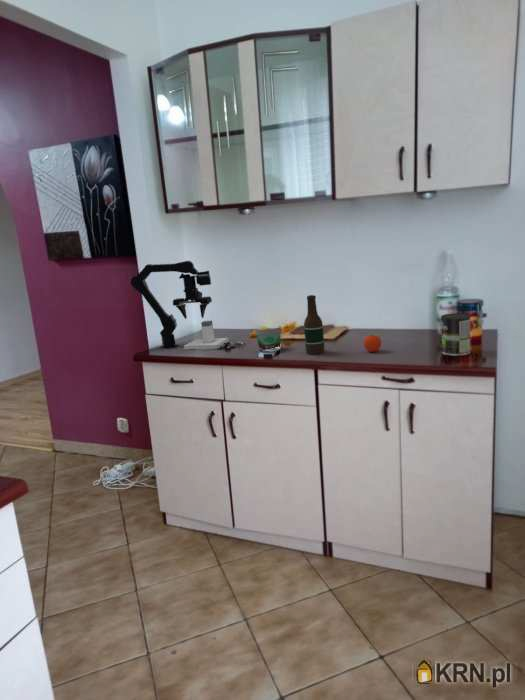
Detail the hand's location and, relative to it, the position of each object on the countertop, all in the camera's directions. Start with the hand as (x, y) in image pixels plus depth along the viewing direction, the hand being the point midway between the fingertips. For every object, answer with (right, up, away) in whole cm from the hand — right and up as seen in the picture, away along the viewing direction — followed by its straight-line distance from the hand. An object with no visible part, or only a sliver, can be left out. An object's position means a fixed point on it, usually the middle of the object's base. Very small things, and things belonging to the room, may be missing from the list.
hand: (194, 318), depth 259 cm
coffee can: (+107, -17, -61) cm, 124 cm away
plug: (+8, -14, -4) cm, 16 cm away
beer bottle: (+56, -17, -39) cm, 71 cm away
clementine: (+79, -16, -47) cm, 93 cm away
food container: (+38, -16, -28) cm, 50 cm away
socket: (+7, -14, -4) cm, 16 cm away
